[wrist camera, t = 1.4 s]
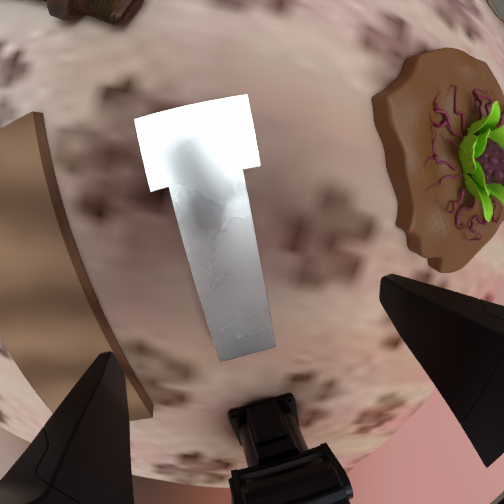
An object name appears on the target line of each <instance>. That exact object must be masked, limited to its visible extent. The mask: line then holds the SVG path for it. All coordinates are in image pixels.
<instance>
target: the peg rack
mask: <svg viewBox="0 0 504 504" xmlns="http://www.w3.org/2000/svg"><path fill="white" fill-rule="evenodd" d="M0 338H1V340H2V342H3V343H4V345H5V347H6V348H7V350H8V352H9V353H10V355H11V356H12V358H13V360H14V361H15V363H16V364H17V366H18V367H19V369H20V370H21V372H22V373H23V375H24V376H25V378H26V379H27V380H28V382H29V383H30V385H31V386H32V387H33V389H34V390H35V391H36V393H37V394H38V395H39V397H40V398H41V399H42V401H43V402H44V403H45V404H46V406H47V407H48V408H49V409H50V411H51V412H52V413H54V412H55V410H56V409H57V408H58V406H59V405H60V404H61V402H62V401H63V400H64V398H65V397H66V396H67V395H68V393H69V392H70V391H71V389H72V388H73V387H74V385H75V384H76V383H77V382H78V380H79V379H80V378H81V377H82V375H83V374H84V373H85V371H86V370H87V369H88V368H89V366H90V365H91V364H92V363H93V361H94V360H95V359H96V358H97V356H98V355H99V354H100V353H103V352H109V351H111V352H113V353H114V354H115V356H116V358H117V359H118V361H119V363H120V364H121V366H122V367H123V369H124V372H125V379H126V390H127V399H128V408H129V421H132V420H139V419H147V418H153V404H152V403H151V401H150V400H149V398H148V396H147V395H146V393H145V391H144V390H143V388H142V386H141V385H140V383H139V381H138V380H137V378H136V376H135V374H134V373H133V371H132V369H131V367H130V365H129V364H128V362H127V360H126V358H125V356H124V354H123V352H122V351H121V349H120V347H119V345H118V343H117V341H116V339H115V337H114V335H113V333H112V331H111V329H110V327H109V325H108V323H107V320H106V318H105V316H104V314H103V312H102V310H101V307H100V305H99V303H98V301H97V298H96V296H95V294H94V291H93V289H92V287H91V284H90V282H89V279H88V277H87V274H86V272H85V269H84V267H83V264H82V261H81V259H80V256H79V253H78V250H77V248H76V245H75V242H74V239H73V236H72V233H71V230H70V227H69V224H68V221H67V217H66V214H65V211H64V208H63V204H62V201H61V197H60V193H59V190H58V186H57V182H56V178H55V174H54V170H53V166H52V161H51V157H50V152H49V147H48V142H47V137H46V131H45V125H44V119H43V113H39V112H31V113H29V114H27V115H25V116H23V117H21V118H19V119H17V120H15V121H13V122H12V123H10V124H8V125H6V126H5V127H3V128H1V129H0Z"/></svg>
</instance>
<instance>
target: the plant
mask: <svg viewBox="0 0 504 504" xmlns="http://www.w3.org/2000/svg"><path fill="white" fill-rule="evenodd" d="M372 105H373V111H374V122H375V126H376V129H377V131H378V133H379V136H380V138H381V140H382V143H383V146H384V150H385V157H386V167H387V171H388V174H389V177H390V180H391V182H392V185H393V188H394V191H395V194H396V197H397V200H398V215H397V220H396V226H397V227H399V228H400V229H403V230H404V231H405V233H406V236H407V244H408V248H409V249H410V250H411V251H413V252H415V253H417V254H418V255H420V256H422V257H424V258H428V264H429V266H431V267H432V268H434V269H435V270H437V271H438V272H440V273H451V272H455V271H457V270H460V269H461V268H463V267H464V266H465V265H466V264H467V263H468V262H469V261H470V260H471V259H472V258H473V257H474V256H475V254H476V253H477V252H478V251H479V250H480V249H481V248H482V247H483V246H484V245H485V244H486V243H487V242H488V241H489V240H490V239H491V238H492V237H493V235H494V234H495V233H496V231H497V229H498V227H499V226H500V224H501V222H502V221H504V96H503V93H502V90H501V88H500V86H499V84H498V82H497V80H496V78H495V77H494V75H493V73H492V72H491V70H490V68H489V67H488V65H487V64H486V63H485V62H483V61H481V60H478V59H476V58H474V57H472V56H470V55H468V54H467V53H465V52H464V51H461V50H459V49H454V48H442V49H437V50H433V51H429V52H426V53H423V54H419V55H415V56H412V57H409V58H407V59H406V60H405V62H404V65H403V67H402V70H401V72H400V75H399V76H398V78H397V79H396V80H395V81H394V82H393V83H392V84H390V85H389V86H388V87H387V88H386V89H385V90H383V91H382V92H380V93H378V94H376V95H375V96H373V97H372Z"/></svg>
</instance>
